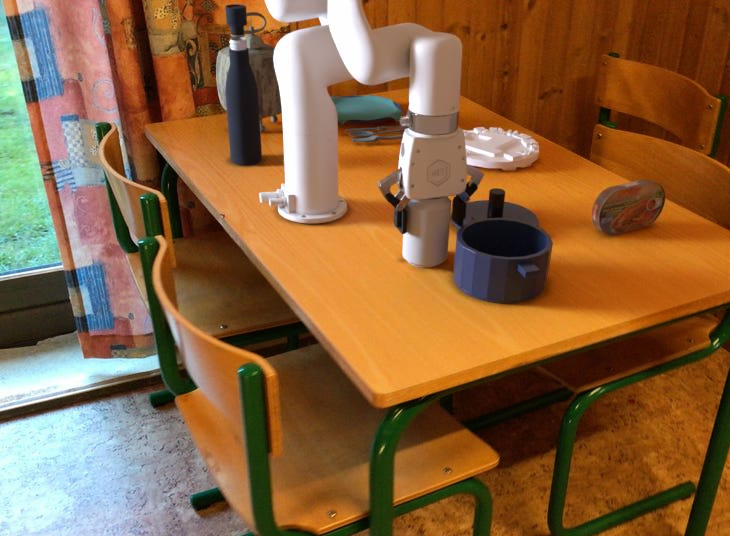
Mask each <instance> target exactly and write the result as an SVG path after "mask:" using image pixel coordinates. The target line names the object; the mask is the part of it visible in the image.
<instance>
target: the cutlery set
mask: <svg viewBox="0 0 730 536" xmlns="http://www.w3.org/2000/svg"><path fill="white" fill-rule="evenodd" d="M330 97H331V99H332V101H333V103H334V105H335V107H336V110H337V117H338V124H341V125H344V124H345V123H347V124H348V123H349V124H375V123H376V124H377V123H382V122H383V123H384V122H386V121H390V120H393V119H394V120H395V124H397V123H399V122H400V117H403V108H402V105H400V104H399V103H398V102H397V101H394V100H392V99H391V98H388V97H385V96H380V95H372V94H366V95H345V96H330ZM389 129H390V130H389ZM405 129H408V127H407V126H405V125H404V126H401V125H400V126H385V125H381V126H379V125H377V126H376V127H359V128H349V129H345V133H348V136H349V137H353V138H354V139H353V138H351V141H352V143H356V144H357V143H358V144H359V143H377V142H379V141H380V140H385V141H386V140H387V141H388V140H389V141H392V140H402V139H403V135H404V134H400V135H392V136H391V135H390V136H379V135H385V134H392V133H393V134H395V133H404V131H405ZM381 130H382V131H381ZM373 131H377V132H373ZM355 138H356V139H355Z"/></svg>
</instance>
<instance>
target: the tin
mask: <svg viewBox="0 0 730 536" xmlns="http://www.w3.org/2000/svg"><path fill="white" fill-rule="evenodd" d="M665 204H666V192H665V188H664V187H663V185H662V184H660V183H659V182H656V181H652V180H649V179H640V180H635V181H631V182H626V183H622V184H617V185H612V186H609V187H607V188H605V189H604V190H602V191H601V192H600V193H599V194H598V195H597V197H596V198H595V200H594V202H593V205H592V210H591V222H592V225H593V226H594V227H595V228H596V229H597V230H599V231H600V232H602V233H603V234H605V235H607V236H616V235H619V234H623V233H626V232H631V231H635V230H639V229H640V230H641V229H643V228H647V227H649V226H651V225H652V224H653V223H655V222H656V221H657V219H658V218H659V217H660V215H661V214H662V212H663V209H664V207H665Z"/></svg>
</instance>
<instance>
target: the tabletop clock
mask: <svg viewBox="0 0 730 536" xmlns="http://www.w3.org/2000/svg"><path fill="white" fill-rule="evenodd" d="M246 14H247V17H252V16H254V17H260V18H261V19H262V20H263V25H262V26H261V27H259V28H257V29H255V27H254V26H253V25H250V26H249V27H248V30H247V29H246V30H245V29H244V34H245V36H244V37H243V38H246V41H247V43H246V44H247V47H246V48H248V50H249V63H250V66H251V68H252V71H253V73H254V76H255V80H256V83H257V88H258V100H259V117H260V134H263V133H265V132H266V130H267V129H266V126H265V125H263V119H267V118H270V122H272V123H277V122H278V120H279V118H278V115H280V114H281V115H282V105H281V96H280V90H279V85H278V81H277V76H276V72H275V68H274V60H273V57H274V50H275V47H276V46H275V47H274V46H273V45H270V44H267V43H265V41H264V39H263V38H262V37H261V36H260V35H258V34H257V33H260V32H261V31H264V29H265V28H266V27H267V22H268V21H267V18H266V17H265V16H264V15H263V14H262V13H260V12H258V11H257V12H256V11H250V12H249V11H248V12H246ZM230 48H231V47H230V46H226V47H223V48H222V49H220V50H219V51H218V52H217V53H218V54H217V56H216V64H215V69H216V70H215V73H216V74H215V76H216V77H215V78H216V88H217V94H218V98H219V102H220V104H221V106H222V109H224V110H225V111H226V112H227V107H226V95H225V88H226V78H227V74H228V70H229V66H230V58H229V49H230Z"/></svg>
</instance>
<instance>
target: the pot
mask: <svg viewBox="0 0 730 536" xmlns="http://www.w3.org/2000/svg"><path fill="white" fill-rule="evenodd" d="M455 238H456V239H455V249H454V263H453V282H454V284H455V286H456V287H457V288H458V289H459V290H460V291H462V293H464V294H466V295H467V296H469V297H471V298H474V299H477V300H480V301H483V302H488V303H494V304H518V303H519V304H520V303H524V302H529V301H532V300H534V299H536V298H538V297H539V296H541V295H542V294H543V293H544V292H545V290H546V286H547V284H548V279H549V271H550V266H551V259H552V252H553V246H554V242H553V239H552V235H550V234H549V233H548V232H547V231H546V230H545V229H543V228H542V227H540V226H539V225H538V226H536V225H534V224H532V223H528V222H524V221H521V220H516V219H508V218H487V217H486V216H485V215H481V216H473V217H471V222H469V223H467V224H465V225H463V226H461V228H460V229H458V230H457V232H456V237H455Z"/></svg>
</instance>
